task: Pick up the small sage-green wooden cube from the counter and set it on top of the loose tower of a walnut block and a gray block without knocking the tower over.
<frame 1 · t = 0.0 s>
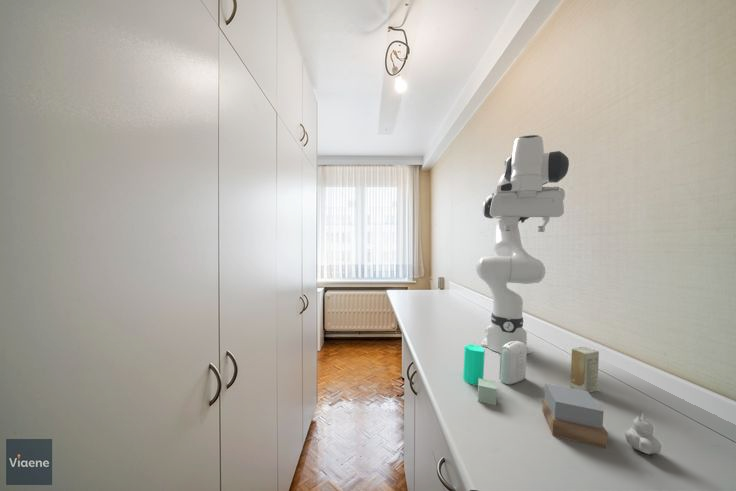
hand: (523, 231, 87), 48 cm above the worktop, tool pointing down, fingers open, 8 cm apart
sage cube: (486, 399, 78), on the worktop
white figurine: (642, 452, 60), on the worktop
skincare box: (583, 389, 86), on the worktop
gray block: (571, 412, 67), point 4 cm above the worktop, touching walnut block
walnut block: (571, 429, 67), on the worktop, touching gray block
candle: (472, 380, 88), on the worktop
photo printer: (512, 380, 90), on the worktop
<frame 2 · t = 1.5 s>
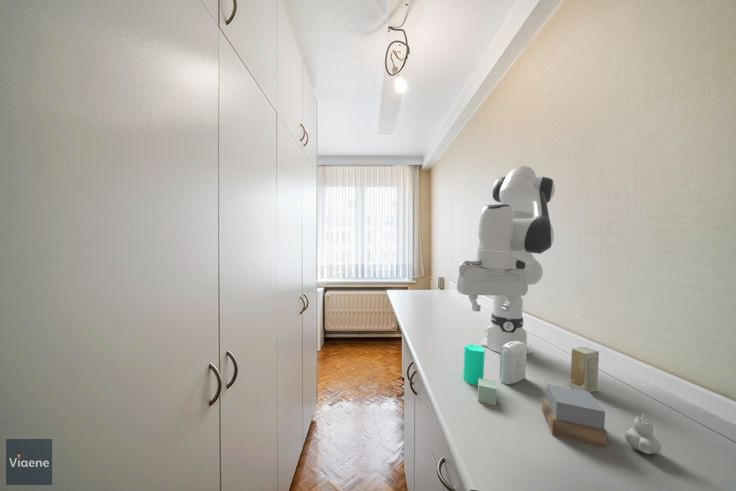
hand: (491, 311, 78), 25 cm above the worktop, tool pointing down, fingers open, 8 cm apart
gray block: (572, 413, 67), point 4 cm above the worktop
walnut block: (570, 429, 67), on the worktop
everything else where it was.
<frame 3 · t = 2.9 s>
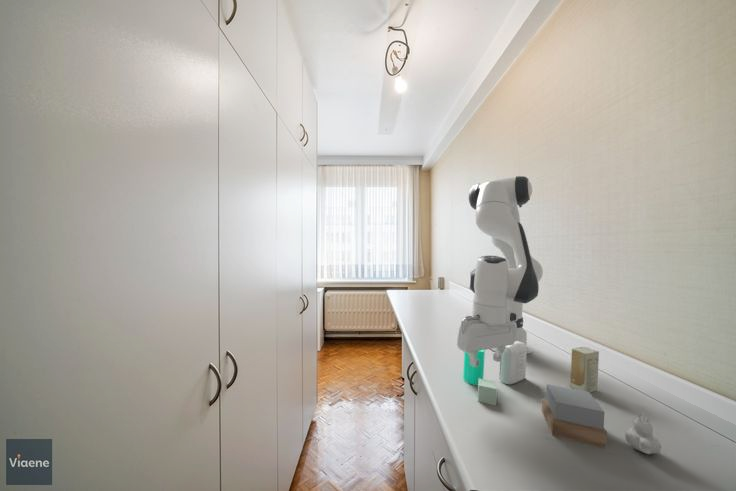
hand: (486, 363, 78), 10 cm above the worktop, tool pointing down, fingers open, 8 cm apart
gray block: (572, 413, 67), point 4 cm above the worktop, touching walnut block
walnut block: (570, 429, 67), on the worktop, touching gray block
everything else where it was.
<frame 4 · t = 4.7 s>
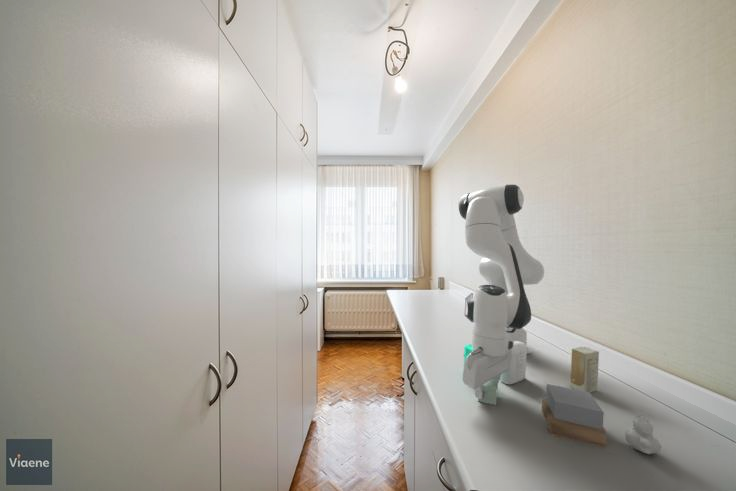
hand: (486, 393, 78), 2 cm above the worktop, tool pointing down, fingers closed on sage cube, 6 cm apart
sage cube: (486, 399, 78), on the worktop, touching gripper
everything else where it was.
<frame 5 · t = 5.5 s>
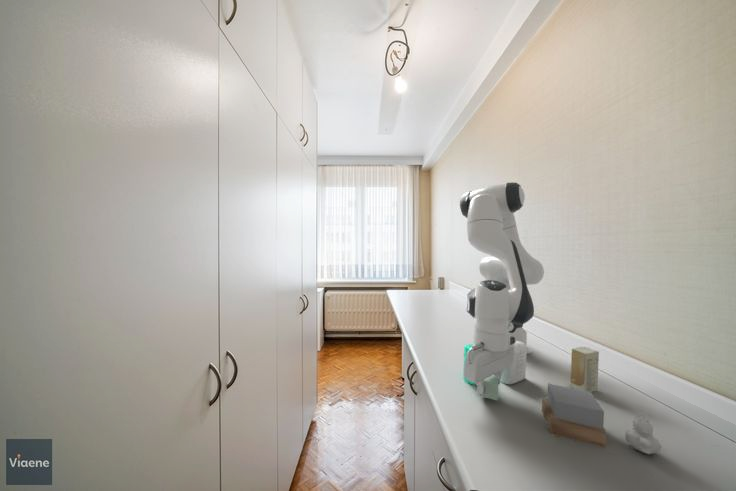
hand: (488, 388, 78), 3 cm above the worktop, tool pointing down, fingers closed on sage cube, 6 cm apart
sage cube: (488, 394, 78), point 1 cm above the worktop, touching gripper
everything else where it was.
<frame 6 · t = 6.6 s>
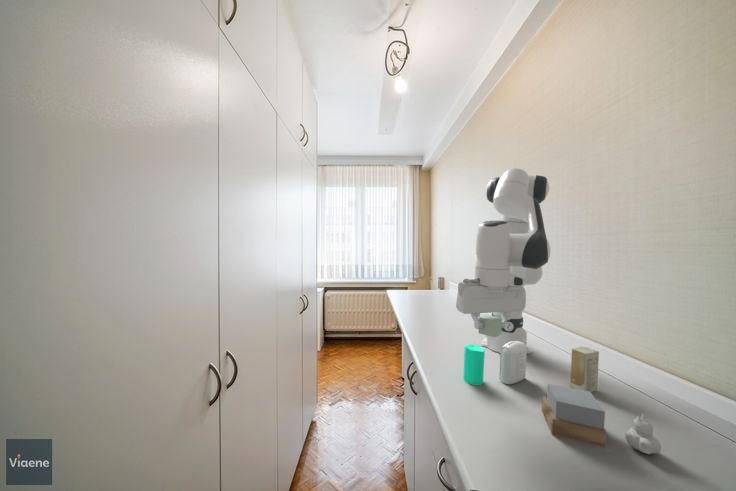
hand: (490, 327, 78), 20 cm above the worktop, tool pointing down, fingers closed on sage cube, 6 cm apart
sage cube: (490, 333, 78), point 18 cm above the worktop, touching gripper
everything else where it was.
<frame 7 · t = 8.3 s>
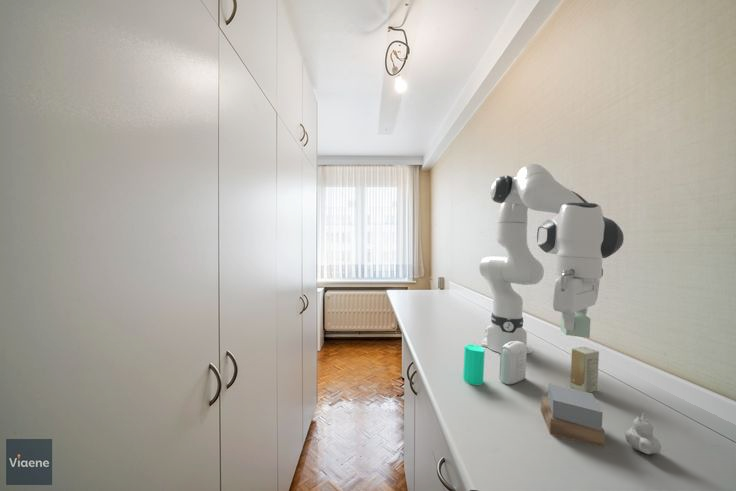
hand: (574, 327, 67), 24 cm above the worktop, tool pointing down, fingers closed on sage cube, 6 cm apart
sage cube: (574, 333, 67), point 23 cm above the worktop, touching gripper
everything else where it was.
when the fingers open (11 cm above the worktop, at t = 11.4 s): sage cube drops 1 cm, resting on gray block.
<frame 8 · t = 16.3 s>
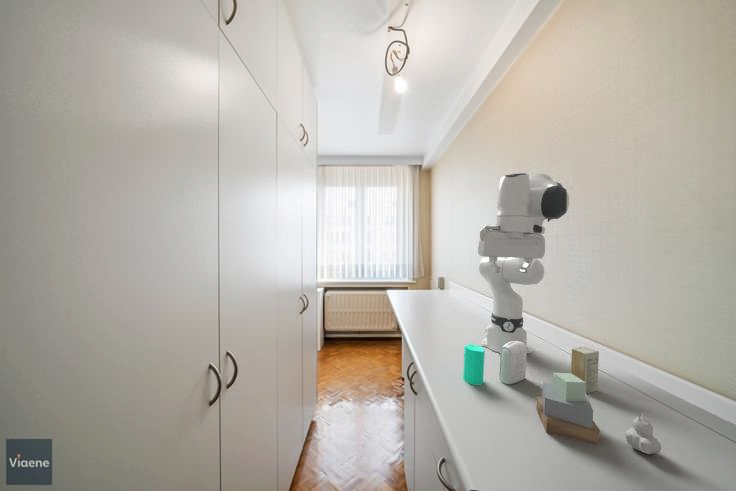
hand: (510, 272, 84), 35 cm above the worktop, tool pointing down, fingers open, 8 cm apart
sage cube: (568, 395, 67), point 7 cm above the worktop, touching gray block
gray block: (564, 411, 68), point 3 cm above the worktop, touching sage cube, walnut block
at the end: sage cube 0.6 cm off-centre on the gray block, point 4.0 cm above the gray block's base; sage cube tilted 0°; gray block 0.1 cm off-centre on the walnut block, point 4.0 cm above the walnut block's base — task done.
